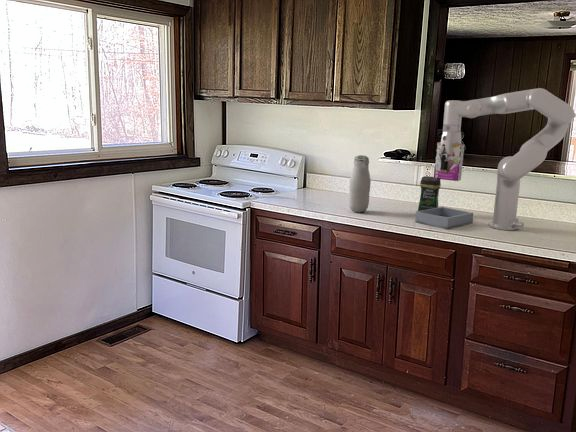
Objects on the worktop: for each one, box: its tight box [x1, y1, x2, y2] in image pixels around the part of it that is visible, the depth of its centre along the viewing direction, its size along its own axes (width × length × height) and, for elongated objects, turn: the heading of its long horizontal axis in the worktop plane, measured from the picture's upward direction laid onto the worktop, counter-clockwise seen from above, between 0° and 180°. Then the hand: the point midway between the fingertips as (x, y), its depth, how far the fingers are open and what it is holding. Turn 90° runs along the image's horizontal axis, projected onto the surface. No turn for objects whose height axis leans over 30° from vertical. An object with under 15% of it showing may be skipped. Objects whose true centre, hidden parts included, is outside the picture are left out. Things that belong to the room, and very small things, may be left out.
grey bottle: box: [348, 154, 372, 213], centre depth 270 cm, size 10×10×28 cm
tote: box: [414, 206, 474, 230], centre depth 253 cm, size 17×20×5 cm
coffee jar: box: [417, 175, 442, 211], centre depth 270 cm, size 10×8×19 cm
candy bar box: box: [433, 141, 465, 182], centre depth 247 cm, size 11×5×16 cm, turn 57°
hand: (448, 169), depth 248 cm, fingers closed on candy bar box, 6 cm apart
